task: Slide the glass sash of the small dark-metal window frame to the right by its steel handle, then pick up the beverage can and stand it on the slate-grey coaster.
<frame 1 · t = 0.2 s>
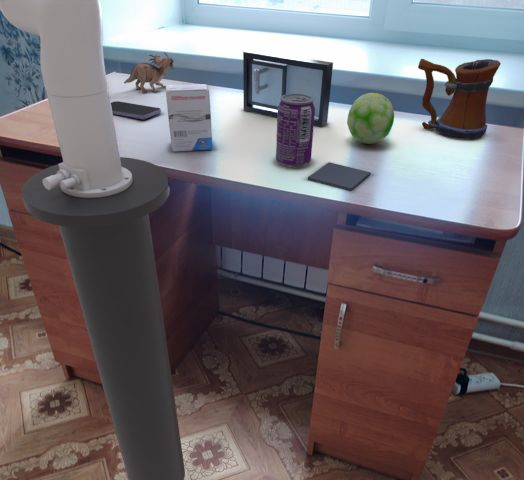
ink box: (191, 148, 107), on the table
dinosaur figurine: (151, 90, 139), on the table
coaster: (339, 177, 97), on the table
sash: (261, 87, 119), point 7 cm above the table, slide at 0.0 cm
smartphone: (129, 113, 124), on the table
decorative ball: (366, 143, 111), on the table
mug: (444, 131, 118), on the table
window frame: (284, 117, 123), on the table
beverage can: (293, 163, 102), on the table
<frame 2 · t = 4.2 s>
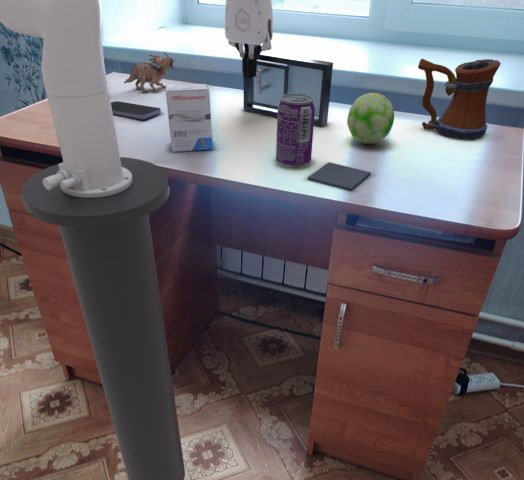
hand: (249, 76, 117), 9 cm above the table, tool pointing down, fingers closed
sash: (263, 88, 119), point 7 cm above the table, slide at 0.5 cm, touching gripper
everything else where it was.
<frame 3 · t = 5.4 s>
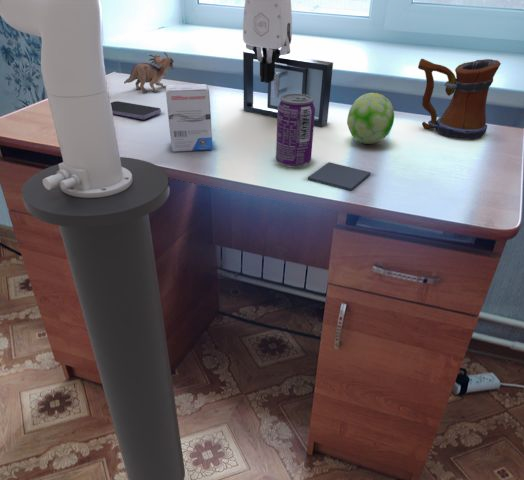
hand: (267, 81, 115), 9 cm above the table, tool pointing down, fingers closed
sash: (281, 91, 117), point 6 cm above the table, slide at 5.3 cm, touching gripper
everything else where it was.
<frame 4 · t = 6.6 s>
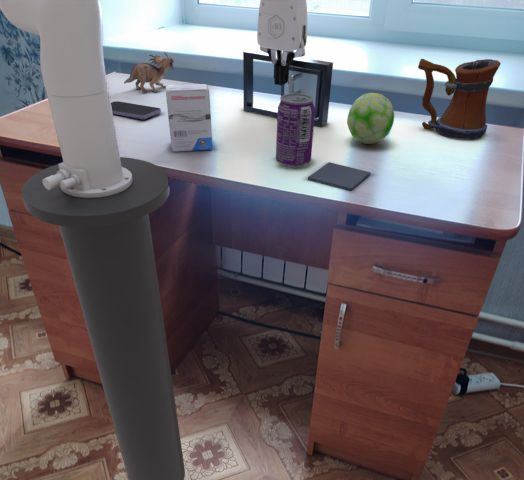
hand: (280, 83, 114), 9 cm above the table, tool pointing down, fingers closed
sash: (294, 94, 115), point 7 cm above the table, slide at 9.0 cm, touching gripper
everything else where it was.
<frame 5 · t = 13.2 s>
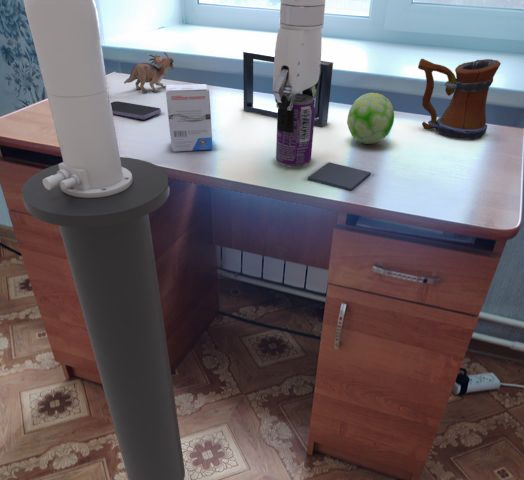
hand: (295, 124, 97), 7 cm above the table, tool pointing down, fingers closed on beverage can, 7 cm apart
sash: (294, 94, 115), point 7 cm above the table, slide at 9.0 cm
beverage can: (293, 163, 102), on the table, touching gripper
everything else where it was.
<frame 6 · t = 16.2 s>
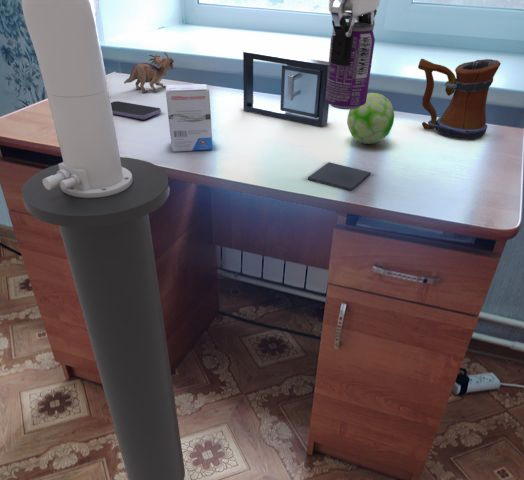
hand: (350, 59, 84), 20 cm above the table, tool pointing down, fingers closed on beverage can, 7 cm apart
beverage can: (344, 106, 89), point 13 cm above the table, touching gripper
everything else where it was.
when the fingers open (8 cm above the table, at t = 19.5 s): beverage can stays where it is, resting on coaster.
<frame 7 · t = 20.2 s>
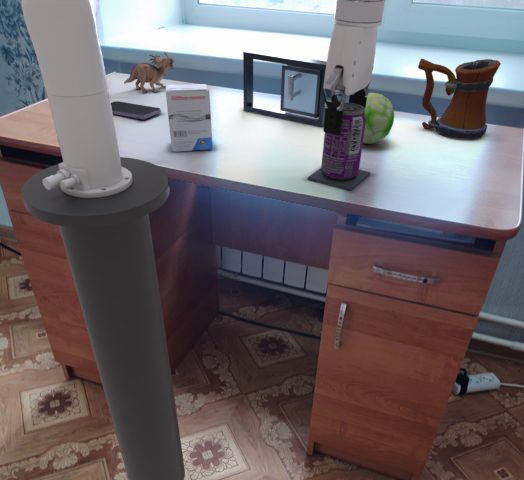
hand: (343, 126, 90), 9 cm above the table, tool pointing down, fingers open, 9 cm apart
beverage can: (339, 175, 96), resting on coaster
everything else where it was.
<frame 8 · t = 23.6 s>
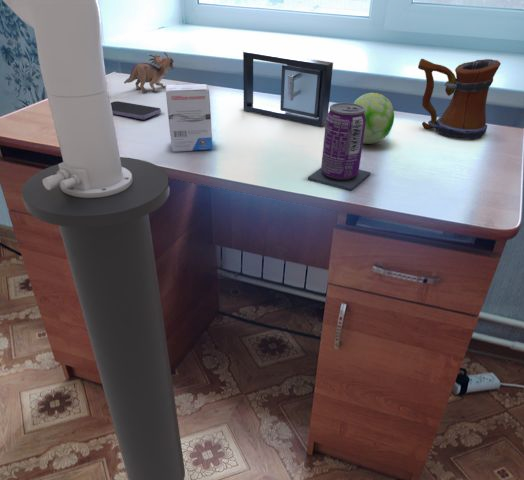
nothing on the table moved.
at the end: sash slide at 9.0 cm; beverage can inside the target area on the coaster (0.1 cm from its centre), point 0.3 cm above the coaster's base; beverage can tilted 0° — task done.
